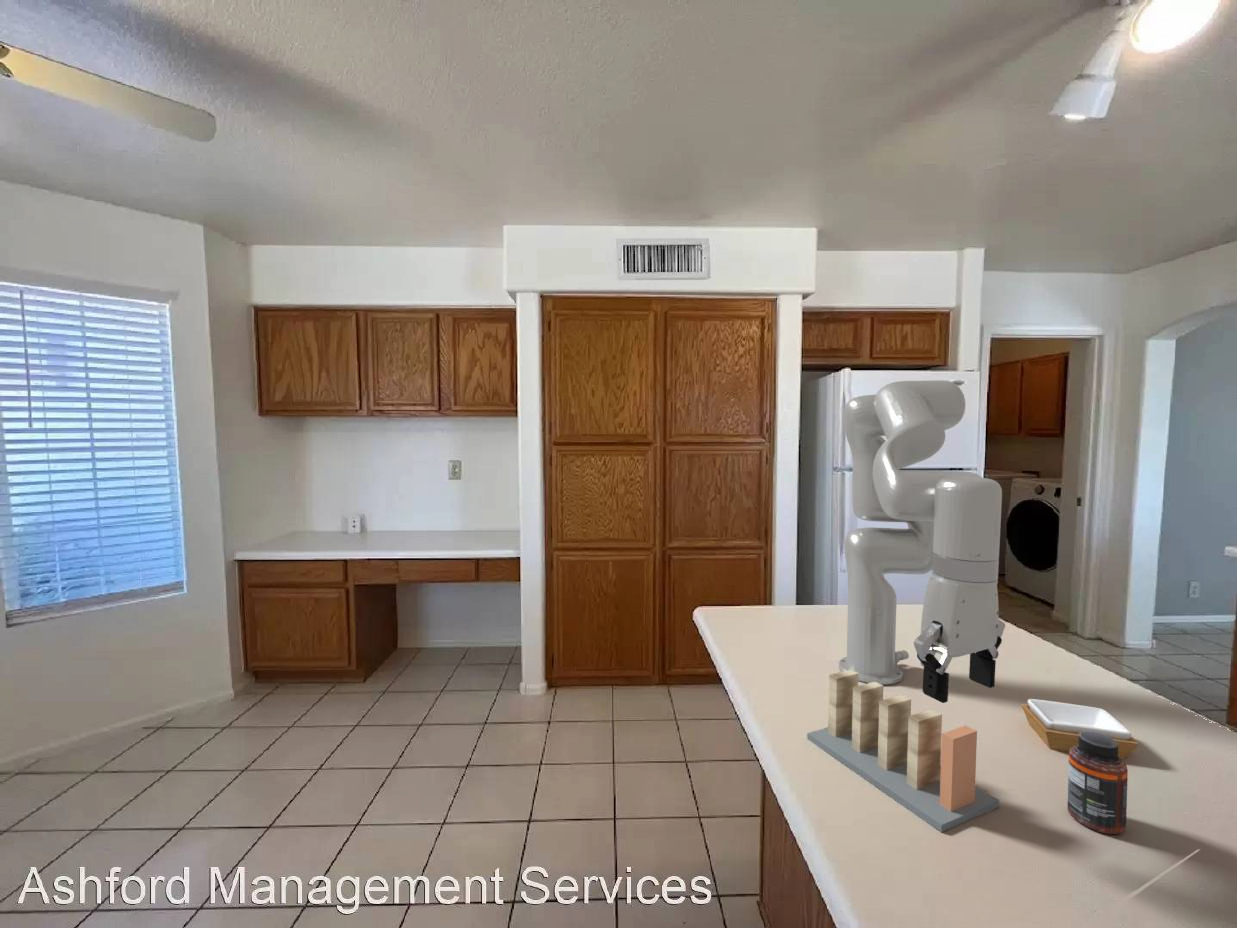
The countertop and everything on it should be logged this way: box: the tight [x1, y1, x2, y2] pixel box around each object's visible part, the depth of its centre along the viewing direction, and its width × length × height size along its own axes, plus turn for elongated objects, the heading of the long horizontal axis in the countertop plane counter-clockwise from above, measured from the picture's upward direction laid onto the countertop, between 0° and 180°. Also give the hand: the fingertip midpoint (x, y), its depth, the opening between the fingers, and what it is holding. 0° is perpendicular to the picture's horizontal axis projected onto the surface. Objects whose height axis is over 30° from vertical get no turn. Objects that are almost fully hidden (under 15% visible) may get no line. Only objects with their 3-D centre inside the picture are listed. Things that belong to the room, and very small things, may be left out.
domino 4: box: [907, 709, 943, 790], centre depth 79 cm, size 5×2×10 cm, turn 114°
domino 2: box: [852, 682, 884, 752], centre depth 88 cm, size 5×2×10 cm, turn 114°
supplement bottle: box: [1067, 731, 1129, 835], centre depth 73 cm, size 6×6×11 cm
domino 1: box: [827, 670, 859, 737], centre depth 93 cm, size 5×2×10 cm, turn 114°
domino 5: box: [940, 725, 978, 811], centre depth 75 cm, size 5×2×10 cm, turn 114°
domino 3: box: [878, 694, 912, 770], centre depth 84 cm, size 5×2×10 cm, turn 114°
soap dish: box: [1020, 698, 1139, 760], centre depth 92 cm, size 12×10×5 cm
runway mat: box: [806, 727, 1000, 833], centre depth 84 cm, size 12×24×1 cm, turn 24°
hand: (958, 690), depth 75 cm, fingers open, 9 cm apart
